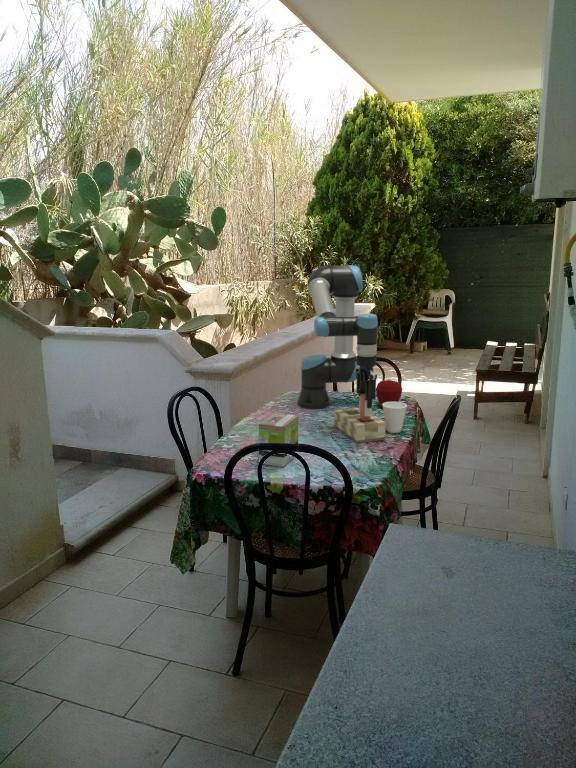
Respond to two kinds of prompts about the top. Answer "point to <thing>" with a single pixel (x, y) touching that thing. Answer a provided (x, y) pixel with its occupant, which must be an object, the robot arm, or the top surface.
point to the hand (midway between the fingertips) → (365, 414)
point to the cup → (394, 416)
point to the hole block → (359, 426)
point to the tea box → (278, 435)
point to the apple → (388, 391)
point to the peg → (363, 409)
